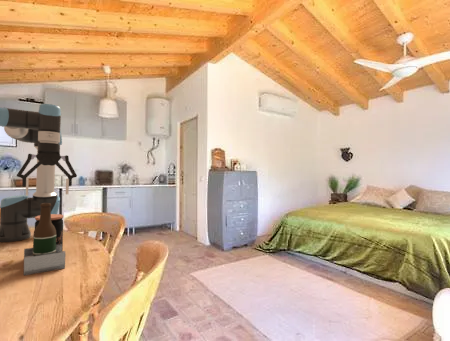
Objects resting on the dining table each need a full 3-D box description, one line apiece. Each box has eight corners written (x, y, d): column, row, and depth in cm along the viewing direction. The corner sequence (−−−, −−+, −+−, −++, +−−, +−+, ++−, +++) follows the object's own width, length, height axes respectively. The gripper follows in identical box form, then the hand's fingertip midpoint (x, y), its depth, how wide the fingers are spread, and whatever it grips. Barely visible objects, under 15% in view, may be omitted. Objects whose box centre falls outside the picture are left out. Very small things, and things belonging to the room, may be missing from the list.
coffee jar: (48, 261, 111) (49, 219, 111) (27, 258, 113) (28, 217, 113) (68, 253, 121) (69, 214, 121) (48, 251, 123) (49, 213, 123)
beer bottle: (53, 264, 103) (55, 204, 103) (29, 267, 100) (31, 204, 100) (57, 258, 110) (59, 201, 110) (35, 260, 107) (36, 202, 107)
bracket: (23, 264, 106) (24, 248, 106) (61, 258, 114) (61, 244, 114) (23, 275, 96) (24, 257, 96) (64, 268, 104) (65, 251, 104)
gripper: (9, 139, 96) (7, 196, 96) (85, 144, 111) (83, 194, 112) (10, 140, 102) (8, 194, 102) (82, 145, 117) (80, 192, 117)
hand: (47, 194), depth 107 cm, fingers open, 13 cm apart
